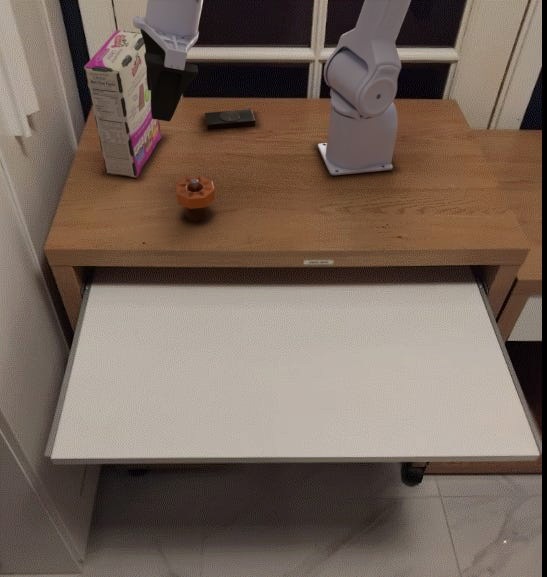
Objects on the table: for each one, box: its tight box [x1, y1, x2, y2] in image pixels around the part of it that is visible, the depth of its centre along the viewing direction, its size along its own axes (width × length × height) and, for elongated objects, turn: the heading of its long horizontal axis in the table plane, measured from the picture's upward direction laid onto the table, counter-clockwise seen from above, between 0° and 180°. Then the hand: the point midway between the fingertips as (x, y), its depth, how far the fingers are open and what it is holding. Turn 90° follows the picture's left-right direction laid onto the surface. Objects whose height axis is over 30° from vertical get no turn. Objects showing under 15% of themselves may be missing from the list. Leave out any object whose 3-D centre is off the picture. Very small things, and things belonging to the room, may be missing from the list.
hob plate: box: [204, 108, 256, 131], centre depth 101 cm, size 8×4×1 cm, turn 102°
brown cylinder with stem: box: [185, 179, 208, 222], centre depth 83 cm, size 3×3×6 cm
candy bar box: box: [83, 30, 162, 179], centre depth 89 cm, size 11×5×16 cm, turn 168°
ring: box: [175, 175, 216, 209], centre depth 82 cm, size 5×5×2 cm
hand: (158, 104), depth 75 cm, fingers open, 7 cm apart
